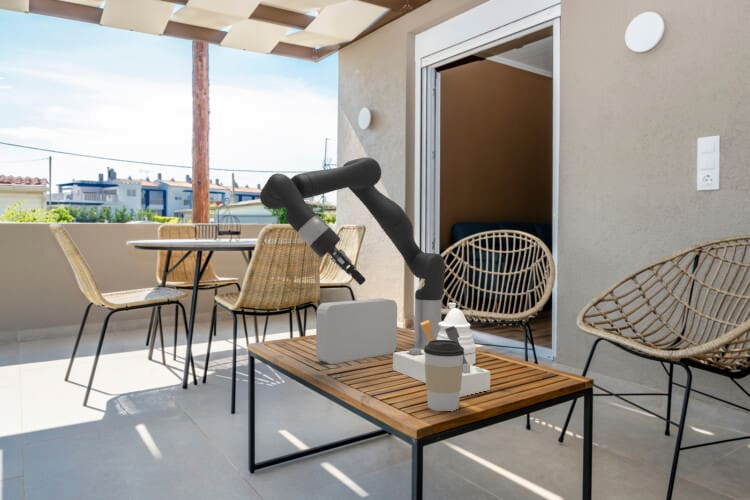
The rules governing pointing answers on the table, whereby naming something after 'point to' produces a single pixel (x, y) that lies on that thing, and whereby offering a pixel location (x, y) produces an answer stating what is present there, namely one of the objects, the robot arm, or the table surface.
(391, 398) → the table surface
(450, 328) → the charcoal paddle
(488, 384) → the white rectangular tray
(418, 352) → the grey button
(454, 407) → the coffee cup
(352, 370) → the table surface
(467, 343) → the honey pot
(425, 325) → the orange paddle
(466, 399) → the table surface
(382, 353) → the rounded white slab
